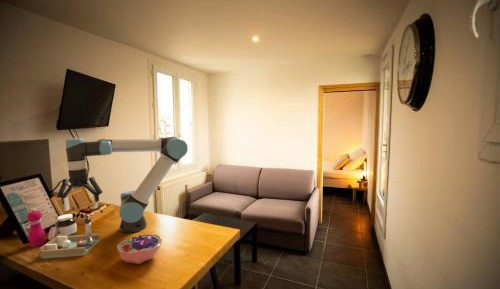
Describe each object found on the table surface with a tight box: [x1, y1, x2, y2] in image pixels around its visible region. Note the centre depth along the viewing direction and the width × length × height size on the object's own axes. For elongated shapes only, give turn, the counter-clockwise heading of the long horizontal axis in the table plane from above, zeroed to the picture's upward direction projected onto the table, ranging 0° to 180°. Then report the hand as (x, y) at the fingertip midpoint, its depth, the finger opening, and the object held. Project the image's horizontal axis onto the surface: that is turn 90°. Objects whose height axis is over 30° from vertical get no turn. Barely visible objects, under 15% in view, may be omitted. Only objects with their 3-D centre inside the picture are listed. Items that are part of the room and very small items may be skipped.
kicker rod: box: [77, 217, 95, 247], centre depth 122 cm, size 7×4×15 cm, turn 97°
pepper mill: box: [26, 207, 46, 248], centre depth 126 cm, size 7×7×20 cm
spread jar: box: [47, 213, 78, 241], centre depth 134 cm, size 12×11×12 cm
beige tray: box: [38, 233, 101, 260], centre depth 122 cm, size 20×15×5 cm
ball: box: [61, 240, 71, 247], centre depth 121 cm, size 4×4×4 cm
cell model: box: [116, 233, 163, 265], centre depth 111 cm, size 17×20×11 cm
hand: (81, 208), depth 121 cm, fingers open, 13 cm apart
